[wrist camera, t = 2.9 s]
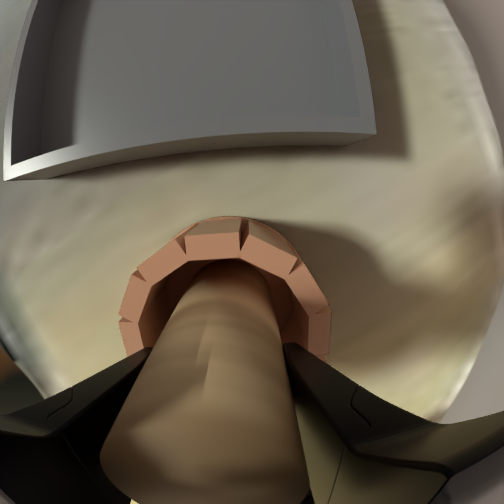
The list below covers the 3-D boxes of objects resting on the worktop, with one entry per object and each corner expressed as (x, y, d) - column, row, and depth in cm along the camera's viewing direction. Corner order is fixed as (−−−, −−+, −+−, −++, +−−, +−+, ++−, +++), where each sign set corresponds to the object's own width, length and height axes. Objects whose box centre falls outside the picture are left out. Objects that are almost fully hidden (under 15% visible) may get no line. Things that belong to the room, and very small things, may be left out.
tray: (346, 145, 13) (376, 134, 9) (45, 179, 13) (3, 181, 9) (310, -50, 9) (320, -83, 6) (69, -10, 9) (45, -32, 6)
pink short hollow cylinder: (307, 356, 15) (325, 410, 11) (167, 362, 15) (145, 415, 11) (307, 211, 13) (335, 223, 9) (143, 222, 13) (99, 240, 9)
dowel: (272, 333, 14) (302, 521, 4) (193, 337, 14) (138, 515, 4) (269, 256, 13) (319, 423, 3) (182, 261, 13) (66, 412, 3)
